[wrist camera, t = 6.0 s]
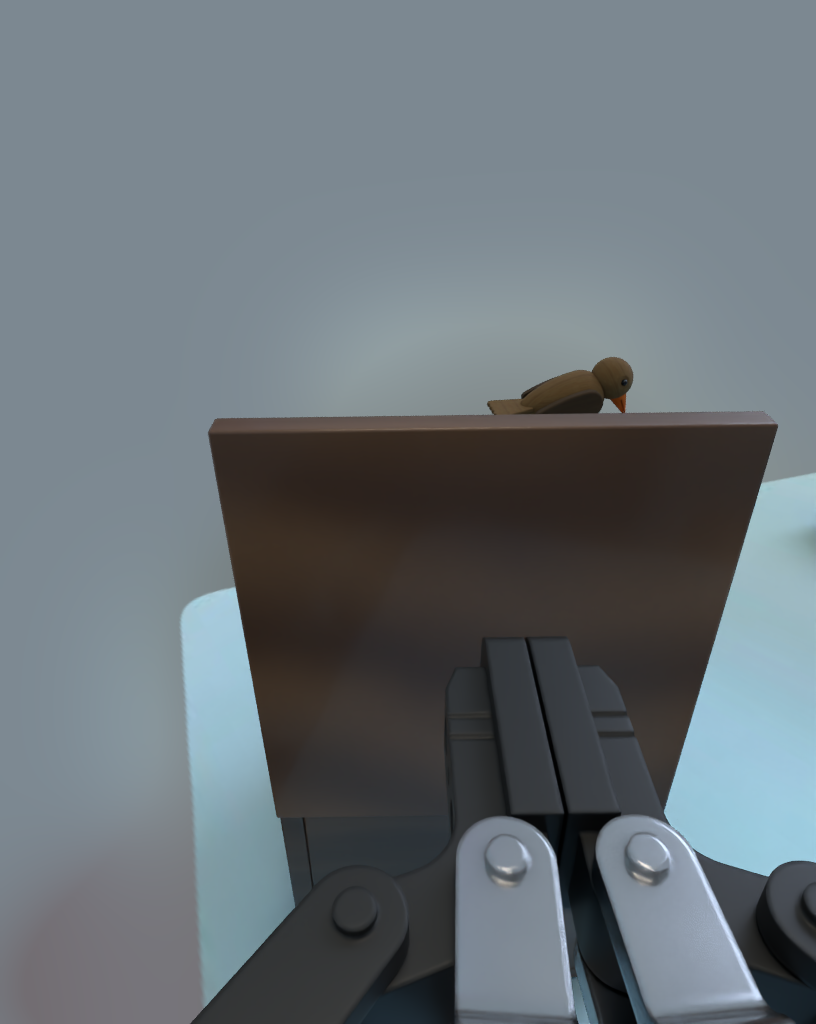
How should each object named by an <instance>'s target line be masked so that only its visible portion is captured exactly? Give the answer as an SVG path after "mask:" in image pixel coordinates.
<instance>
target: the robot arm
mask: <svg viewBox="0 0 816 1024" xmlns="http://www.w3.org/2000/svg"><path fill="white" fill-rule="evenodd" d="M444 757H445V772H446V787H447V803H448V818H449V833H450V840H449V842H448V844H447V846H446V847H445V848H444V850H443V851H442V852H441V853H440V854H439V855H438V856H437V857H436V858H435V859H434V860H432V861H431V862H429V863H428V864H426V865H424V866H422V867H419V868H417V869H415V870H412V871H409V872H406V873H404V874H401V875H398V876H395V877H393V878H392V877H391V876H390V875H389V874H388V873H386V872H384V871H383V870H381V869H378V868H376V867H373V866H368V865H350V866H345V867H342V868H339V869H337V870H334V871H332V872H330V873H329V874H328V875H326V876H325V877H323V878H322V879H321V880H320V881H319V882H318V883H317V884H316V885H315V886H314V887H313V888H312V889H311V891H310V892H309V893H308V894H307V895H306V896H305V897H304V898H303V899H302V900H301V902H300V903H299V904H298V905H297V906H296V907H295V908H294V909H293V910H292V912H291V913H290V914H289V915H288V916H287V917H286V918H285V919H284V920H283V922H282V923H281V924H280V925H279V926H278V927H277V928H276V929H275V930H274V932H273V933H272V934H271V935H270V936H269V937H268V938H267V939H266V940H265V942H264V943H263V944H262V945H261V946H260V947H259V948H258V949H257V950H256V951H255V953H254V954H253V955H252V956H251V957H250V958H249V959H248V960H247V961H246V963H245V964H244V965H243V966H242V967H241V968H240V969H239V970H238V971H237V973H236V974H235V975H234V976H233V977H232V978H231V979H230V980H229V981H228V983H227V984H226V985H225V986H224V987H223V988H222V989H221V990H220V991H219V993H218V994H217V995H216V996H215V997H214V998H213V999H212V1000H211V1001H210V1003H209V1004H208V1005H207V1006H206V1007H205V1008H204V1009H203V1010H202V1011H201V1012H200V1014H199V1015H198V1016H197V1017H196V1018H195V1019H194V1020H193V1021H192V1023H191V1024H578V1021H577V1017H576V1012H575V1005H574V997H573V989H572V981H571V973H570V965H569V956H568V948H567V940H566V932H565V924H564V915H563V909H571V911H572V916H573V921H574V926H575V931H576V939H575V944H574V950H573V960H574V965H575V970H576V973H577V977H578V981H579V984H580V988H581V992H582V996H583V999H584V1003H585V1007H586V1011H587V1014H588V1018H589V1022H590V1024H816V863H814V862H809V861H791V862H787V863H784V864H782V865H780V866H778V867H777V868H776V869H775V870H773V871H772V873H771V875H770V876H769V877H767V876H764V875H760V874H757V873H753V872H750V871H746V870H743V869H739V868H736V867H732V866H729V865H726V864H723V863H720V862H717V861H714V860H712V859H710V858H708V857H706V856H704V855H702V854H700V853H699V852H697V851H696V850H694V849H693V848H692V847H691V845H690V844H689V843H688V841H687V840H686V839H685V838H684V837H683V836H682V835H681V834H680V833H679V832H678V831H677V830H675V829H674V828H673V827H671V825H670V824H669V822H668V821H667V819H666V816H665V814H664V812H663V809H662V807H661V804H660V801H659V798H658V795H657V793H656V790H655V787H654V784H653V782H652V779H651V776H650V773H649V771H648V768H647V765H646V762H645V760H644V757H643V754H642V751H641V749H640V746H639V743H638V740H637V738H636V737H635V736H634V729H633V727H632V724H631V721H630V718H629V716H627V710H626V707H625V705H624V702H623V699H622V696H621V693H620V691H619V688H618V686H617V685H616V684H615V683H614V682H613V681H612V679H611V678H610V677H609V676H608V675H607V674H606V673H605V672H604V671H603V670H602V669H601V667H600V666H599V665H577V664H576V661H575V657H574V654H573V651H572V647H571V644H570V641H569V639H568V638H567V637H566V636H543V637H525V639H524V637H483V639H482V645H481V661H480V667H455V670H454V672H453V674H452V676H451V678H450V680H449V682H448V685H447V687H446V689H445V724H444Z"/></svg>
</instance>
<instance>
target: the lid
mask: <svg viewBox="0 0 816 1024" xmlns="http://www.w3.org/2000/svg"><path fill="white" fill-rule="evenodd" d="M777 428H778V424H777V423H776V422H775V421H774V420H773V419H772V418H771V417H770V416H769V415H768V414H766V413H765V412H763V411H752V412H751V411H746V412H745V411H744V412H674V413H672V412H671V413H670V412H669V413H594V414H519V415H447V416H446V415H444V416H374V417H373V416H372V417H371V416H370V417H299V418H298V417H296V418H295V417H293V418H226V419H225V418H221V419H215V420H214V422H213V424H212V426H211V428H210V430H209V432H208V436H209V442H210V447H211V453H212V458H213V464H214V470H215V475H216V481H217V486H218V492H219V498H220V503H221V509H222V514H223V520H224V525H225V531H226V536H227V542H228V548H229V553H230V558H231V564H232V570H233V575H234V581H235V587H236V592H237V598H238V603H239V609H240V615H241V620H242V626H243V631H244V637H245V642H246V648H247V654H248V659H249V665H250V670H251V676H252V681H253V687H254V693H255V698H256V704H257V709H258V715H259V720H260V726H261V732H262V737H263V743H264V748H265V754H266V760H267V765H268V771H269V776H270V782H271V787H272V793H273V799H274V804H275V810H276V815H277V817H278V818H305V817H376V816H447V815H448V803H447V787H446V772H445V757H444V724H445V689H446V687H447V685H448V682H449V680H450V678H451V676H452V674H453V672H454V670H455V667H480V661H481V645H482V639H483V637H524V639H525V637H543V636H566V637H567V638H568V639H569V641H570V644H571V647H572V651H573V654H574V657H575V661H576V664H577V665H599V666H600V667H601V669H602V670H603V671H604V672H605V673H606V674H607V675H608V676H609V677H610V678H611V679H612V681H613V682H614V683H615V684H616V685H617V686H618V688H619V691H620V693H621V696H622V699H623V702H624V705H625V707H626V710H627V716H629V718H630V721H631V724H632V727H633V729H634V736H635V737H636V738H637V740H638V743H639V746H640V749H641V751H642V754H643V757H644V760H645V762H646V765H647V768H648V771H649V773H650V776H651V779H652V782H653V784H654V787H655V790H656V793H657V795H658V798H659V801H660V804H661V807H662V809H663V812H664V809H665V806H666V803H667V799H668V796H669V792H670V789H671V786H672V782H673V779H674V776H675V772H676V769H677V765H678V762H679V759H680V755H681V752H682V749H683V745H684V742H685V738H686V735H687V732H688V728H689V725H690V722H691V718H692V715H693V711H694V708H695V705H696V701H697V698H698V695H699V691H700V688H701V684H702V681H703V678H704V674H705V671H706V668H707V664H708V661H709V658H710V654H711V651H712V647H713V644H714V641H715V637H716V634H717V631H718V627H719V624H720V620H721V617H722V614H723V610H724V607H725V604H726V600H727V597H728V593H729V590H730V587H731V583H732V580H733V577H734V573H735V570H736V566H737V563H738V560H739V556H740V553H741V550H742V546H743V543H744V539H745V536H746V533H747V529H748V526H749V523H750V519H751V516H752V512H753V509H754V506H755V502H756V499H757V496H758V492H759V489H760V486H761V482H762V479H763V475H764V472H765V469H766V465H767V462H768V459H769V455H770V452H771V448H772V445H773V442H774V438H775V435H776V431H777Z"/></svg>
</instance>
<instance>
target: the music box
mask: <svg viewBox="0 0 816 1024" xmlns="http://www.w3.org/2000/svg"><path fill="white" fill-rule="evenodd" d="M632 382H633V372H632V369H631V367H630V365H629V364H628V363H627V362H626V361H624V360H623V359H620V358H617V357H609V358H605V359H603V360H601V361H600V362H598V363H597V364H596V365H595V367H594V368H593V370H592V372H590V371H586V370H577V371H572V372H569V373H566V374H563V375H561V376H557V377H555V378H552V379H550V380H547V381H545V382H543V383H540V384H539V385H536V386H534V387H532V388H531V389H529V390H527V391H525V392H524V393H523V394H522V395H521V398H522V399H510V400H494V401H488V403H487V405H488V407H489V408H490V410H492V413H493V414H494V415H519V414H594V413H599V411H600V410H601V408H602V406H603V401H604V398H606V399H610V400H611V401H612V402H613V403H614V404H615V405H616V407H617V408H618V409H619V410H620V411H621V412H622V413H625V405H626V392H627V391H628V390H629V389H630V387H631V385H632ZM623 411H624V412H623Z"/></svg>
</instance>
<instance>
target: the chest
mask: <svg viewBox="0 0 816 1024" xmlns="http://www.w3.org/2000/svg"><path fill="white" fill-rule="evenodd" d="M280 819H281V825H282V831H283V836H284V842H285V848H286V854H287V860H288V866H289V872H290V878H291V884H292V890H293V896H294V902H295V907H296V906H297V905H298V904H299V903H300V902H301V900H302V899H303V898H304V897H305V896H306V895H307V894H308V893H309V892H310V891H311V889H312V888H313V887H314V886H315V885H316V884H317V883H318V882H319V881H320V880H321V879H322V878H323V877H325V876H326V875H328V874H329V873H330V872H332V871H334V870H337V869H339V868H342V867H345V866H350V865H368V866H373V867H376V868H378V869H381V870H383V871H384V872H386V873H388V874H389V875H390V876H391V877H392V878H393V877H395V876H398V875H401V874H404V873H406V872H409V871H412V870H415V869H417V868H419V867H422V866H424V865H426V864H428V863H429V862H431V861H432V860H434V859H435V858H436V857H437V856H438V855H439V854H440V853H441V852H442V851H443V850H444V848H445V847H446V846H447V844H448V842H449V840H450V833H449V818H448V815H447V816H376V817H305V818H280ZM563 915H564V924H565V932H566V940H567V948H568V956H569V965H570V973H571V977H577V973H576V970H575V965H574V960H573V950H574V944H575V939H576V931H575V926H574V921H573V916H572V911H571V909H563Z"/></svg>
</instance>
